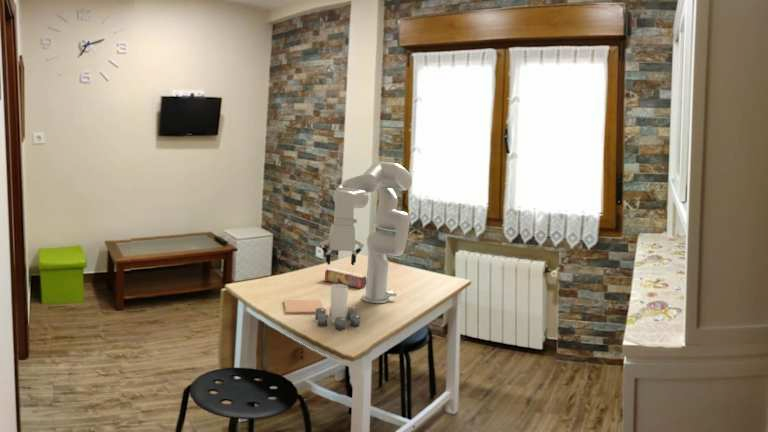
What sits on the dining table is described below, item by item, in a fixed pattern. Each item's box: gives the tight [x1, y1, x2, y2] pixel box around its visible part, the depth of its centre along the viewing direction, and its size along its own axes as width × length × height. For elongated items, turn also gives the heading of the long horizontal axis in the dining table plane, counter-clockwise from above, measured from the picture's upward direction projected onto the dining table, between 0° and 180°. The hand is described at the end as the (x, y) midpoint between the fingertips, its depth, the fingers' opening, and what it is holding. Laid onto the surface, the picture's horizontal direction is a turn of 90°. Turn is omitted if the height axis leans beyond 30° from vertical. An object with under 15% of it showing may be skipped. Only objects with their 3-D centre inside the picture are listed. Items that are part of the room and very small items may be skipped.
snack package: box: [324, 267, 367, 290], centre depth 299 cm, size 21×7×7 cm, turn 64°
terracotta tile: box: [283, 299, 324, 315], centre depth 258 cm, size 16×16×1 cm
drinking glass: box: [330, 283, 349, 324], centre depth 242 cm, size 7×7×15 cm
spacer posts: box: [314, 306, 361, 331], centre depth 243 cm, size 17×19×4 cm
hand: (340, 264), depth 239 cm, fingers open, 9 cm apart
